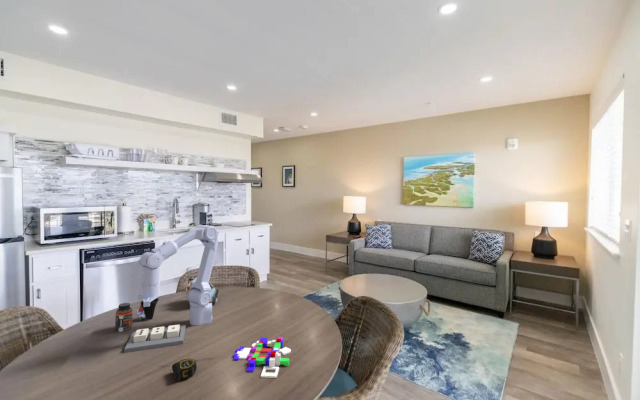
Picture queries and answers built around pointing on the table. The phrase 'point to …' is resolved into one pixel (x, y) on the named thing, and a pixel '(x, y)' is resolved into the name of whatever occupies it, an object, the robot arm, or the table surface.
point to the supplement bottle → (123, 317)
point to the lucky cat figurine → (213, 290)
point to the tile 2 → (173, 331)
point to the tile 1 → (157, 333)
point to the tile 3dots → (141, 335)
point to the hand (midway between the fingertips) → (149, 319)
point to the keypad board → (155, 341)
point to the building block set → (264, 356)
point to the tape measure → (184, 368)
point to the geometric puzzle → (141, 313)
